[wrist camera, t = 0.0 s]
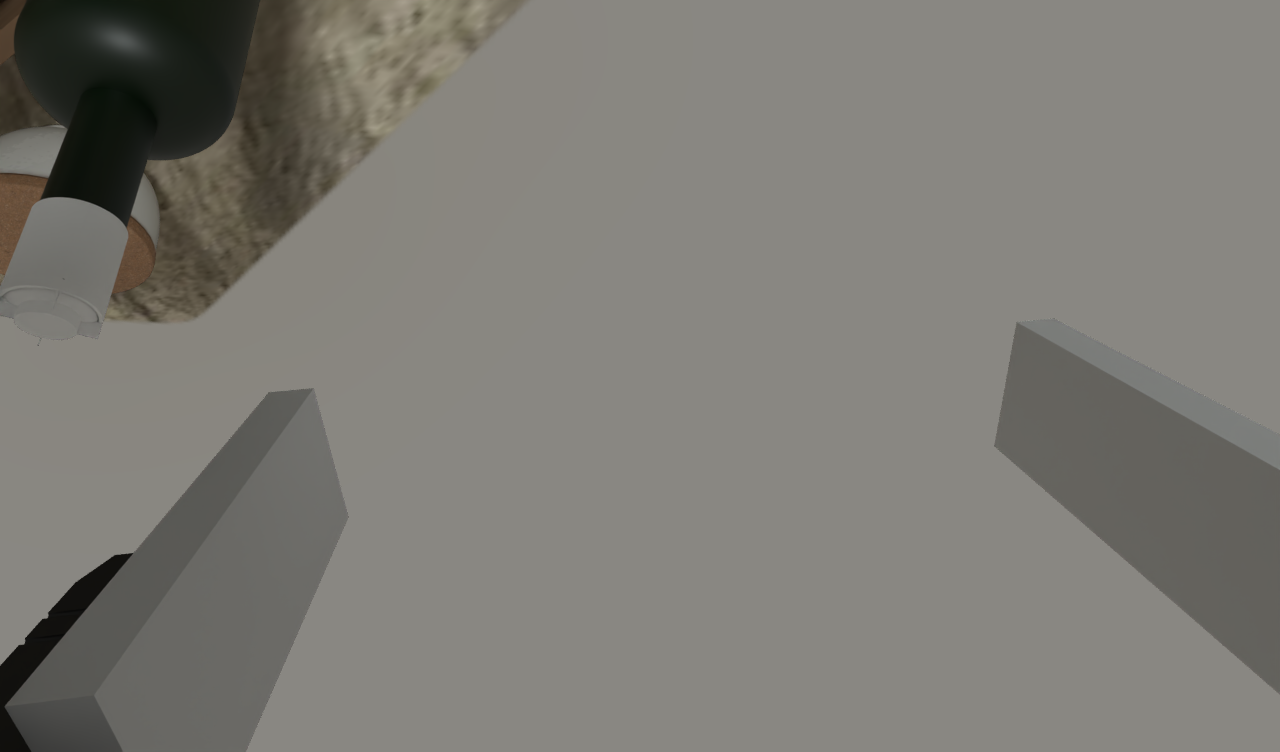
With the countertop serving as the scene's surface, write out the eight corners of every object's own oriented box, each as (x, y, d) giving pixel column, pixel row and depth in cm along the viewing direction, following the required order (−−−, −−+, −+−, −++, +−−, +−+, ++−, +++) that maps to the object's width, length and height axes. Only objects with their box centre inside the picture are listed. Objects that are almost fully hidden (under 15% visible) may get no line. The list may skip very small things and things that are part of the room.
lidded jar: (-58, 88, 43) (-120, 201, 39) (140, 101, 46) (105, 209, 41) (35, 210, 52) (-6, 314, 48) (197, 216, 55) (172, 315, 50)
